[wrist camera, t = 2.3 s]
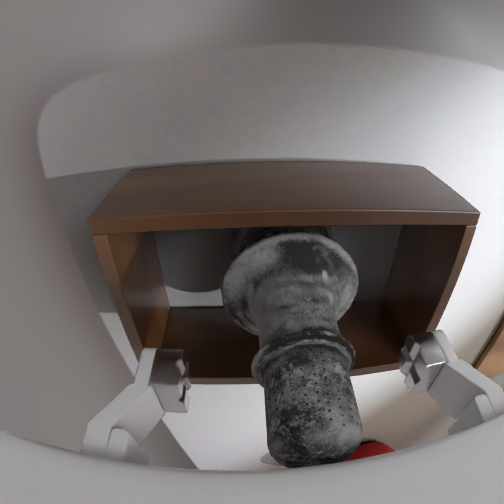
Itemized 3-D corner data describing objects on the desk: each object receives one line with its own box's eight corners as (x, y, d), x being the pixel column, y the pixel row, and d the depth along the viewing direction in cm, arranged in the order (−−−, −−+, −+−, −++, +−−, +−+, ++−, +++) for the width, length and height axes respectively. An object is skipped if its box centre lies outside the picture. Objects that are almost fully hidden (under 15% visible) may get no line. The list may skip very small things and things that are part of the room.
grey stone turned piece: (255, 305, 18) (265, 518, 9) (203, 225, 16) (161, 487, 6) (351, 268, 17) (427, 479, 7) (316, 175, 14) (437, 430, 4)
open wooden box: (130, 169, 14) (86, 220, 10) (423, 166, 14) (481, 212, 10) (162, 315, 19) (147, 382, 15) (389, 305, 19) (416, 366, 15)
